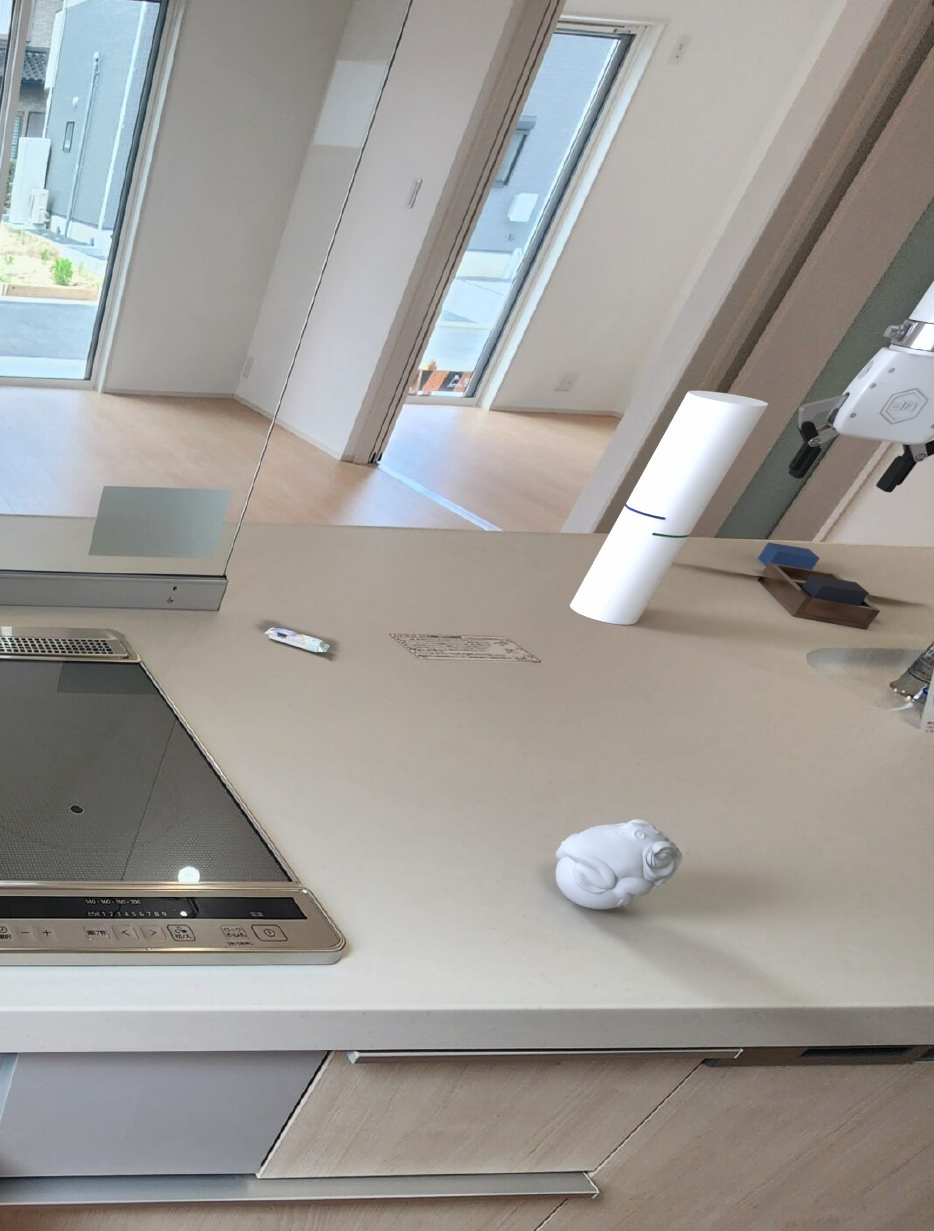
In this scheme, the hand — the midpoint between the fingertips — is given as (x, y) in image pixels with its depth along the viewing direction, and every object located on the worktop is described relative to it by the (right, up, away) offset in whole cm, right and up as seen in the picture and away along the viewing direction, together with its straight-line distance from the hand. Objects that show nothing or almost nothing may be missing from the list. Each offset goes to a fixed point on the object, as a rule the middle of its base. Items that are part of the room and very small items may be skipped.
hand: (838, 482), depth 127 cm
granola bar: (-84, -26, -21) cm, 90 cm away
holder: (-5, -16, -1) cm, 17 cm away
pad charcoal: (-7, -18, -4) cm, 20 cm away
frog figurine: (-79, -52, -56) cm, 111 cm away
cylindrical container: (-38, -20, -8) cm, 44 cm away
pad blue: (0, -10, +8) cm, 13 cm away
